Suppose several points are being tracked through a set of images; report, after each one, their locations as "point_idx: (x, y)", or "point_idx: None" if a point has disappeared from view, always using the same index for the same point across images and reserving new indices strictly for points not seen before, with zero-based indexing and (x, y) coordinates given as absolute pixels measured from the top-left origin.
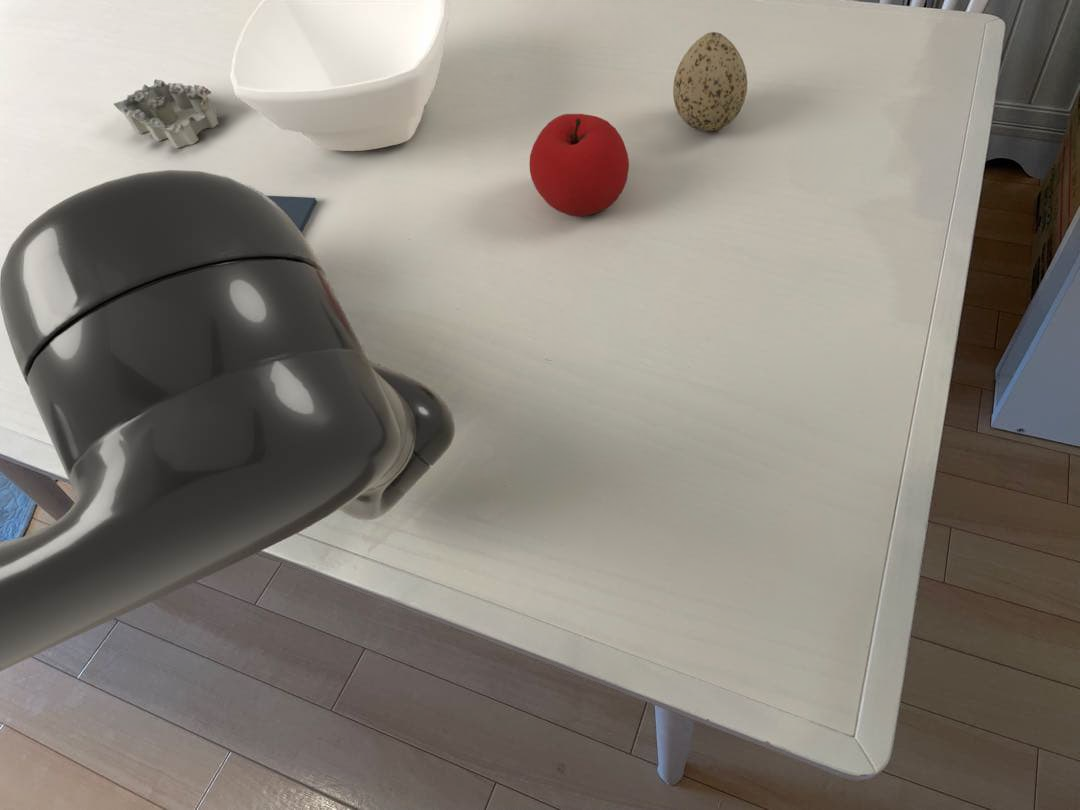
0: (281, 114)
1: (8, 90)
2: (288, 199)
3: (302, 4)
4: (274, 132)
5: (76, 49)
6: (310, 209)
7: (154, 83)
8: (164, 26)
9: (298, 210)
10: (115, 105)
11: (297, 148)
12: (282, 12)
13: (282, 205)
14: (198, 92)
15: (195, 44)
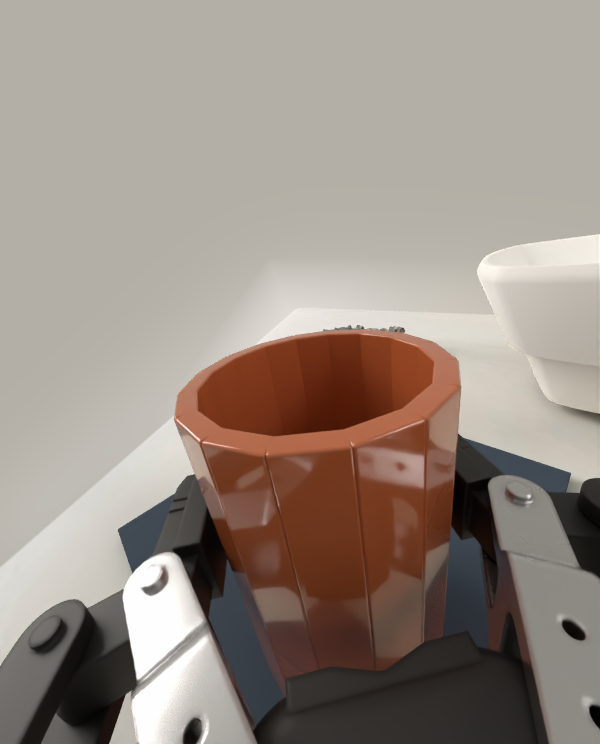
0: (573, 319)
1: (273, 328)
2: (506, 456)
3: (545, 261)
4: (461, 376)
5: (317, 319)
6: (565, 492)
7: (356, 327)
8: (370, 315)
9: (538, 484)
10: (323, 330)
11: (497, 396)
12: (520, 264)
13: (497, 462)
14: (393, 330)
15: (388, 322)
